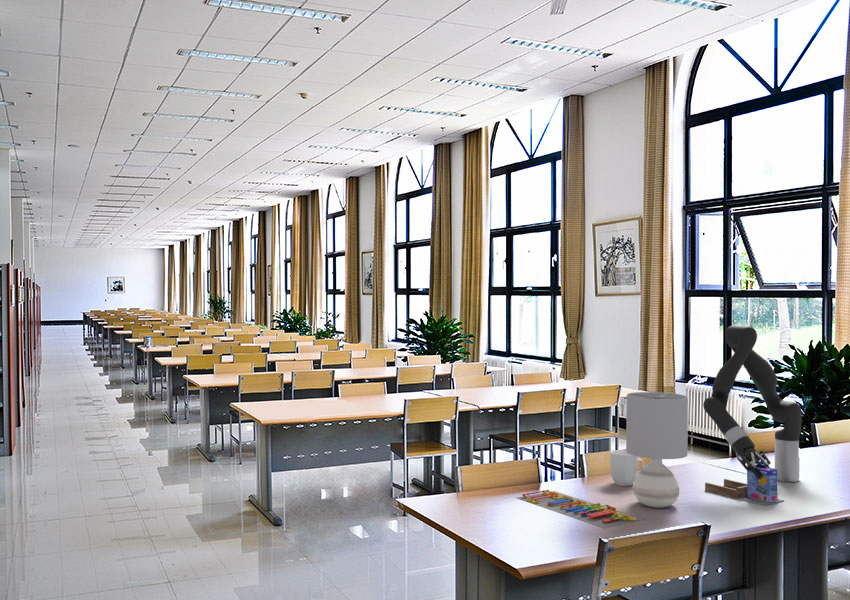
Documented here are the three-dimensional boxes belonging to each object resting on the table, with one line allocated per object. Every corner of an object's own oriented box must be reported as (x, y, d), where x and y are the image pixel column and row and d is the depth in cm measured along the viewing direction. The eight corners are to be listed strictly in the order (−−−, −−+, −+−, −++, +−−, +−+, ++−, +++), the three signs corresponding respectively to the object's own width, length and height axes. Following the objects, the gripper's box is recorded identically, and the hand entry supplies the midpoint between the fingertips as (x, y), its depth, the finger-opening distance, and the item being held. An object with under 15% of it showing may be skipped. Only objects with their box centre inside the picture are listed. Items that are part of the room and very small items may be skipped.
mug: (637, 480, 321) (638, 449, 321) (651, 486, 310) (651, 454, 310) (605, 481, 318) (605, 450, 318) (617, 488, 307) (617, 455, 307)
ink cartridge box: (745, 497, 293) (746, 459, 293) (755, 495, 296) (755, 458, 296) (768, 503, 284) (768, 464, 284) (778, 501, 287) (778, 462, 287)
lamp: (644, 494, 298) (645, 390, 298) (697, 505, 282) (698, 396, 282) (614, 504, 282) (615, 395, 282) (668, 516, 267) (669, 401, 267)
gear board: (643, 513, 263) (604, 522, 253) (643, 521, 263) (604, 530, 253) (554, 486, 301) (516, 492, 290) (553, 492, 301) (516, 499, 290)
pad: (760, 495, 297) (760, 494, 297) (784, 501, 289) (784, 500, 289) (741, 499, 291) (741, 498, 291) (765, 505, 282) (765, 504, 282)
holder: (725, 486, 312) (725, 476, 312) (758, 494, 299) (758, 484, 299) (705, 490, 305) (705, 480, 305) (738, 498, 292) (738, 488, 292)
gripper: (734, 436, 292) (761, 473, 282) (756, 433, 300) (784, 469, 290) (721, 448, 297) (748, 484, 287) (744, 444, 305) (771, 480, 295)
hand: (766, 476), depth 289 cm, fingers open, 6 cm apart
